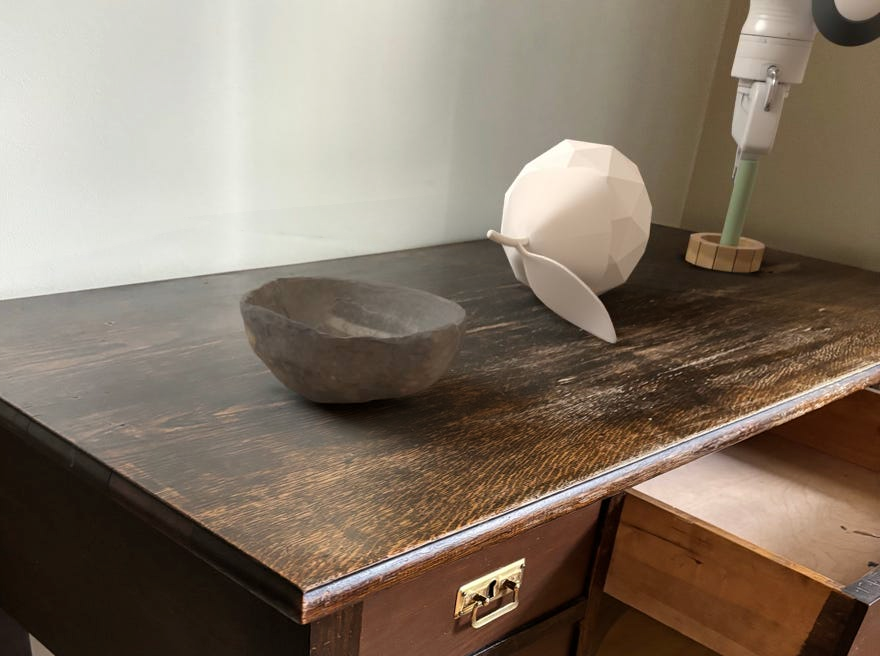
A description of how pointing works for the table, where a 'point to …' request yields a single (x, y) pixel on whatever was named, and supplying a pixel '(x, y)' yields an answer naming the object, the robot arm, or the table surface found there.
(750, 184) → the green post
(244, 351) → the table surface
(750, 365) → the table surface
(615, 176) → the pear ornament
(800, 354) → the table surface
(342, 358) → the bowl
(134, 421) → the table surface
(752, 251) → the ring
